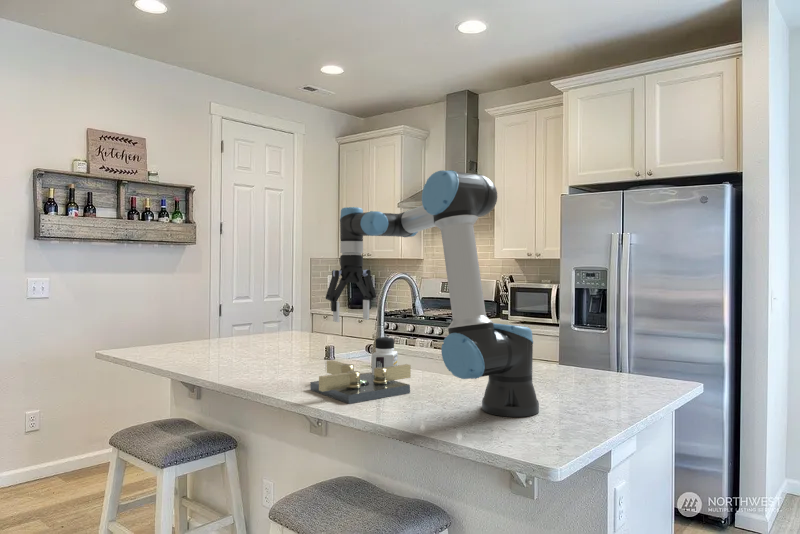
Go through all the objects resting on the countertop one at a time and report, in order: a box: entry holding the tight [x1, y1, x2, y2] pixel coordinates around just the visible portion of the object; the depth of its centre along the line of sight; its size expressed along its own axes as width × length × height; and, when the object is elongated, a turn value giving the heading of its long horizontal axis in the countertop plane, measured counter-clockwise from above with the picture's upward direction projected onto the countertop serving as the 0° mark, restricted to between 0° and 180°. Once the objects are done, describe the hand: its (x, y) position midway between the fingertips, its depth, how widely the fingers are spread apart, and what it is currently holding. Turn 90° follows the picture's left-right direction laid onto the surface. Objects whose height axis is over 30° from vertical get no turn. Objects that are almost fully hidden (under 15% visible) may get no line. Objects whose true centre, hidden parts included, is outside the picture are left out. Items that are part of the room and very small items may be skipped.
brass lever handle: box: [326, 359, 355, 375], centre depth 188 cm, size 13×4×4 cm, turn 38°
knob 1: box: [318, 370, 361, 392], centre depth 170 cm, size 13×4×4 cm, turn 128°
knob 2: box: [373, 363, 412, 384], centre depth 182 cm, size 13×4×4 cm, turn 128°
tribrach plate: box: [309, 373, 411, 405], centre depth 179 cm, size 22×22×3 cm
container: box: [371, 336, 399, 375], centre depth 206 cm, size 8×8×13 cm
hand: (351, 320), depth 194 cm, fingers open, 11 cm apart
